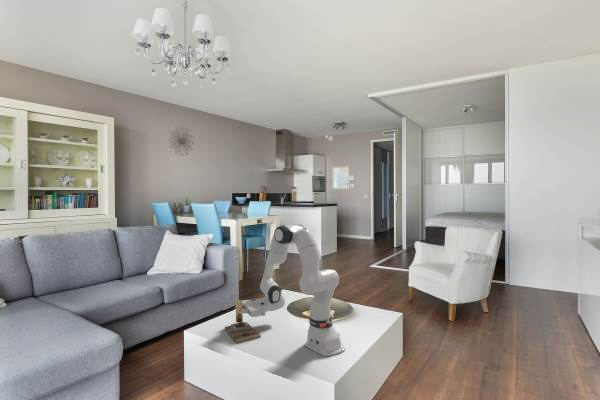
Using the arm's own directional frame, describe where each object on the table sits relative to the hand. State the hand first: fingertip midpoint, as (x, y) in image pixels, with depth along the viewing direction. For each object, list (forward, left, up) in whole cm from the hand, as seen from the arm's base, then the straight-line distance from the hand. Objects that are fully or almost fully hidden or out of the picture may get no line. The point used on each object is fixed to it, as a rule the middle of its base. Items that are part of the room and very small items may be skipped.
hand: (237, 310), depth 199 cm
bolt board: (-4, -1, -12) cm, 13 cm away
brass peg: (0, -1, -7) cm, 7 cm away
